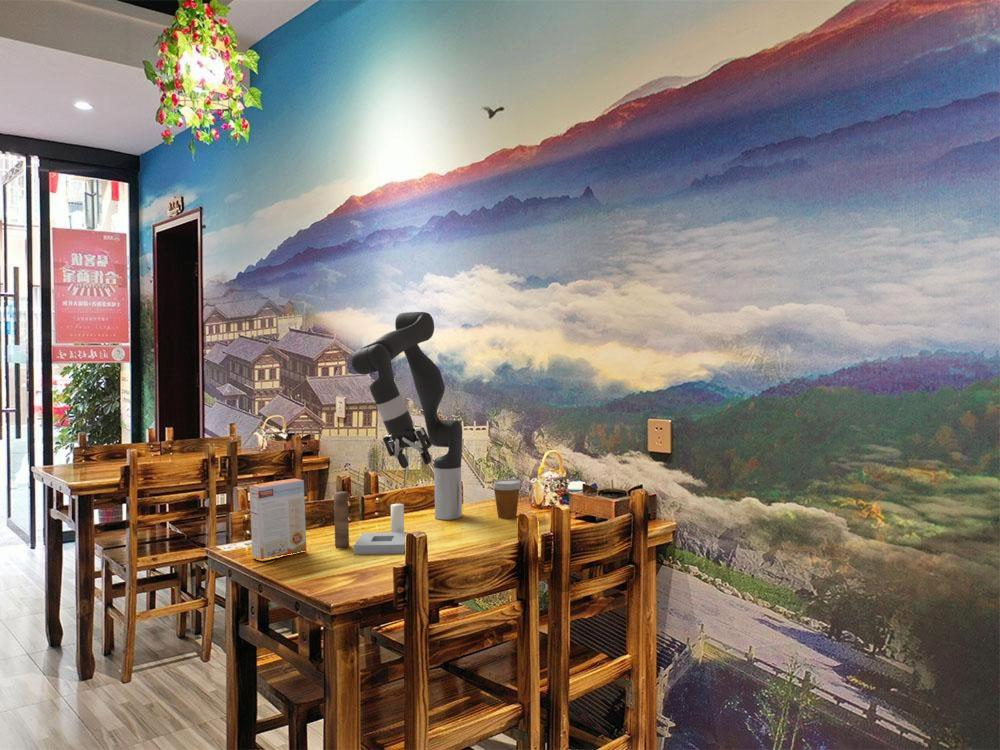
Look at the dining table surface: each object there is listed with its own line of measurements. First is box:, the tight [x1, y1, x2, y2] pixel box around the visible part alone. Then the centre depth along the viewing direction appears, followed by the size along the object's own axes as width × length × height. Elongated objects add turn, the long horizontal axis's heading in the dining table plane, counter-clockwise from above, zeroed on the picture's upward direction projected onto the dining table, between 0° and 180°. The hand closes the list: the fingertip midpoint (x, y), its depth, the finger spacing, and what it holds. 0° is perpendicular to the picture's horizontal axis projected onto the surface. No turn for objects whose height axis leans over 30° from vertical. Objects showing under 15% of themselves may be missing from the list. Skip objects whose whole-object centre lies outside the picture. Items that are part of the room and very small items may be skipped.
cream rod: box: [390, 503, 405, 533], centre depth 225 cm, size 4×4×10 cm
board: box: [353, 531, 408, 555], centre depth 214 cm, size 14×14×2 cm
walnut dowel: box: [333, 491, 350, 549], centre depth 215 cm, size 4×4×16 cm
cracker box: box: [249, 478, 307, 559], centre depth 206 cm, size 14×6×21 cm, turn 134°
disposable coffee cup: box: [492, 479, 521, 520], centre depth 250 cm, size 10×10×12 cm
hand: (417, 465), depth 207 cm, fingers open, 8 cm apart
